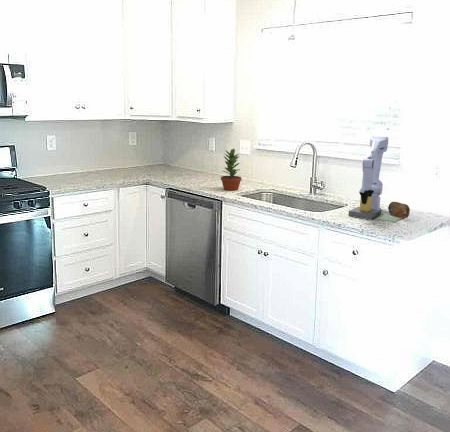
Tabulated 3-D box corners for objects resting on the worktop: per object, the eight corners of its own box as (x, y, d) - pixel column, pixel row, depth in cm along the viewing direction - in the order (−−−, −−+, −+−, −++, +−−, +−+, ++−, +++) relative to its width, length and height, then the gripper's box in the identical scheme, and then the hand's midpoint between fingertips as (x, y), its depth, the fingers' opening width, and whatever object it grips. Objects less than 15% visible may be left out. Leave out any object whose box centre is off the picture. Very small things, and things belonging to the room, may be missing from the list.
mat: (382, 215, 298) (382, 214, 298) (401, 218, 292) (401, 217, 291) (375, 219, 289) (375, 218, 289) (394, 222, 283) (394, 221, 283)
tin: (387, 214, 302) (388, 200, 300) (391, 213, 303) (392, 199, 301) (405, 220, 289) (407, 205, 287) (409, 219, 290) (411, 205, 288)
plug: (362, 209, 300) (363, 195, 298) (370, 210, 297) (371, 196, 295) (359, 210, 297) (360, 196, 295) (367, 211, 294) (369, 197, 292)
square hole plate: (358, 211, 307) (358, 206, 306) (381, 215, 299) (381, 210, 298) (348, 215, 296) (348, 210, 295) (371, 219, 288) (372, 214, 287)
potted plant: (233, 186, 376) (234, 145, 369) (245, 190, 364) (246, 147, 357) (215, 188, 368) (216, 146, 361) (227, 192, 356) (228, 148, 349)
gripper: (369, 182, 285) (367, 206, 288) (379, 178, 296) (377, 202, 299) (357, 180, 289) (355, 204, 292) (367, 177, 300) (365, 200, 303)
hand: (365, 203), depth 296 cm, fingers closed on plug, 4 cm apart
